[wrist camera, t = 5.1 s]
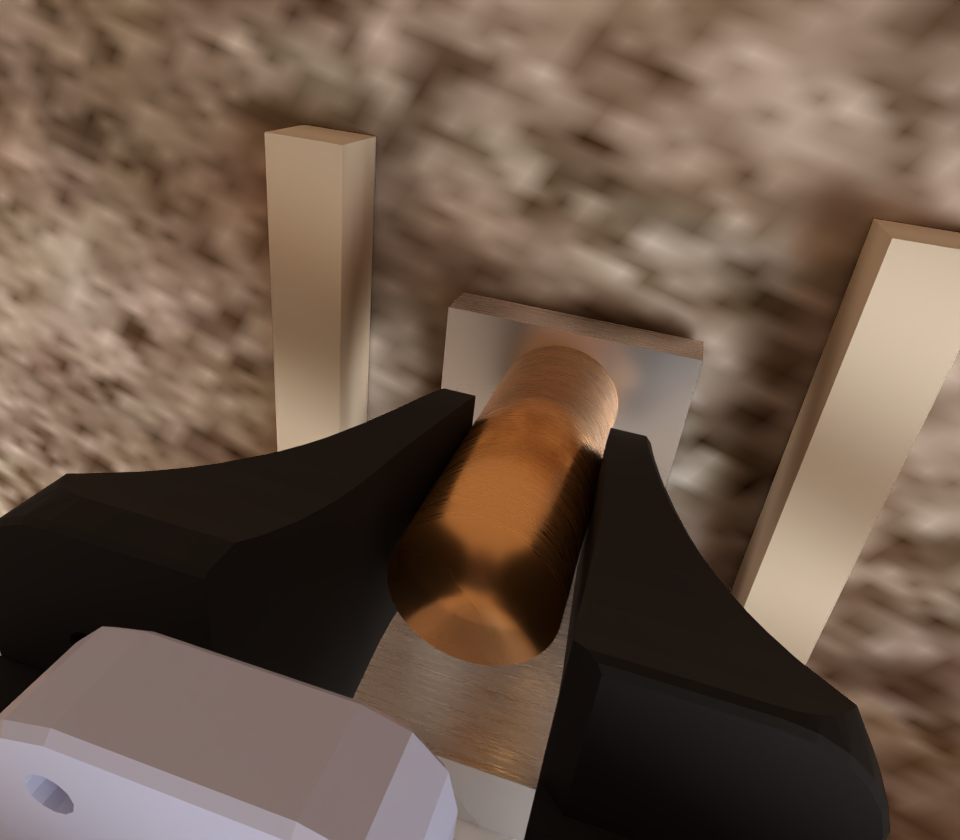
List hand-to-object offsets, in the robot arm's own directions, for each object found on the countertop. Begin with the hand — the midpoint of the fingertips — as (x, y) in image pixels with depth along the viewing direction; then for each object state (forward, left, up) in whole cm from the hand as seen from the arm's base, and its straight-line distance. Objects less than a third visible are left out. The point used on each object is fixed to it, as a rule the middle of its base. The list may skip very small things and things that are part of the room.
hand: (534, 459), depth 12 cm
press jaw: (+2, 0, -3) cm, 4 cm away
